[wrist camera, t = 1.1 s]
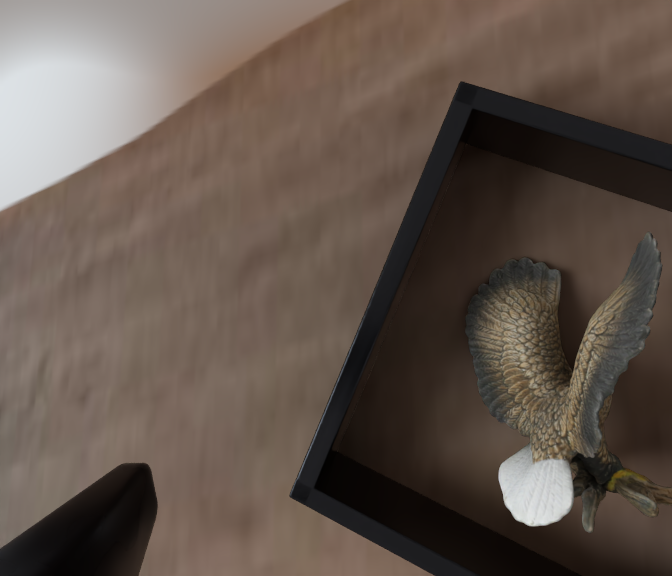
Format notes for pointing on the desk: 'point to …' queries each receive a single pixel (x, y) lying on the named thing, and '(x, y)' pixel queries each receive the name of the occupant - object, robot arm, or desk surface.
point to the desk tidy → (322, 457)
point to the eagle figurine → (561, 386)
